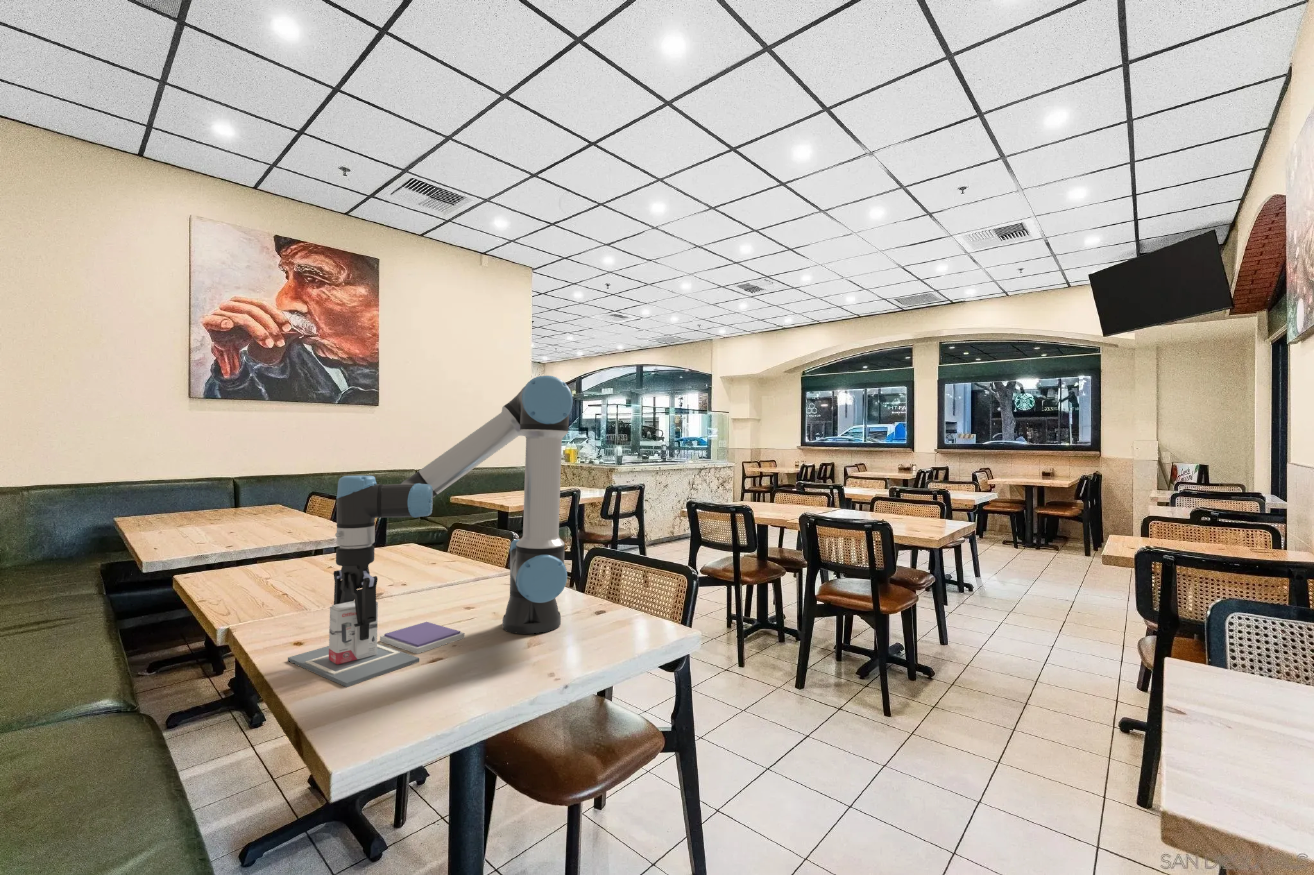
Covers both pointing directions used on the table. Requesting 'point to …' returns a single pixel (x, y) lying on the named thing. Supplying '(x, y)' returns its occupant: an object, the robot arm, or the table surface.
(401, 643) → the ink pad
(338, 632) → the ink box
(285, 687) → the table surface
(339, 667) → the slate board
